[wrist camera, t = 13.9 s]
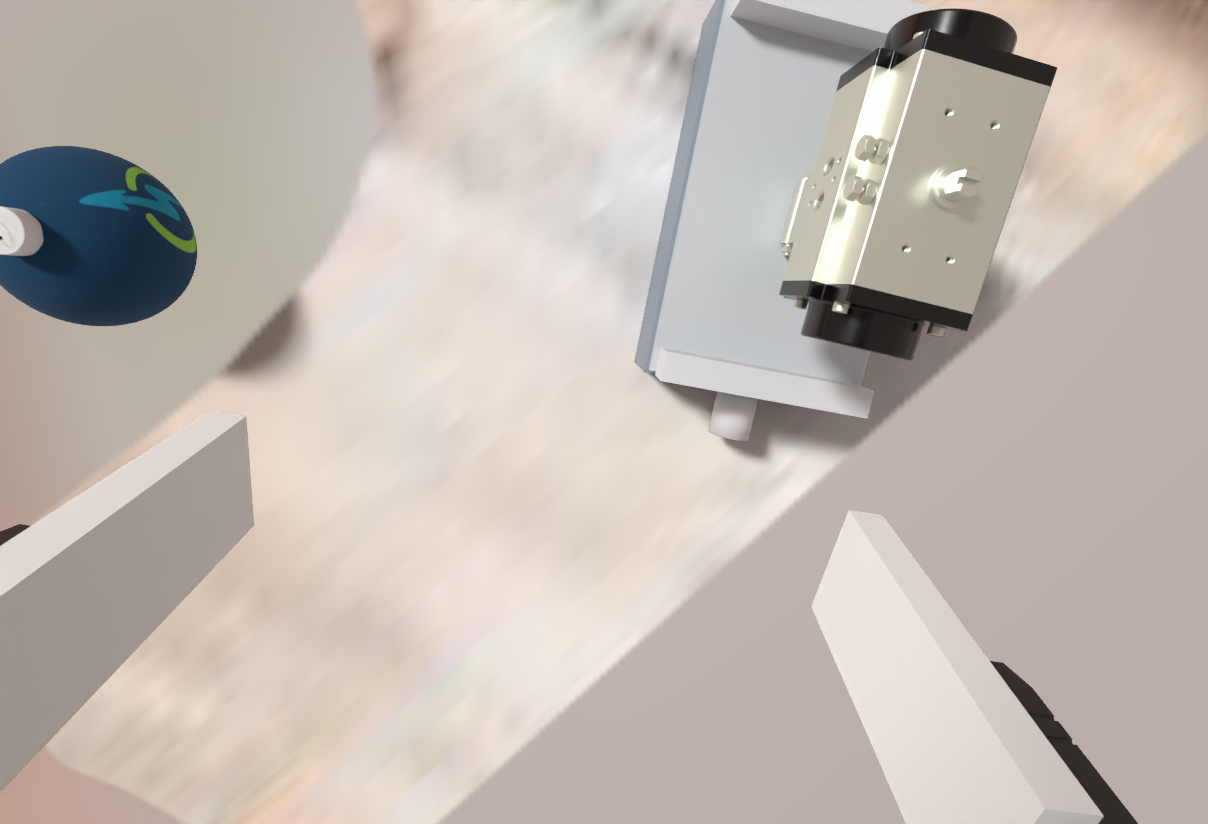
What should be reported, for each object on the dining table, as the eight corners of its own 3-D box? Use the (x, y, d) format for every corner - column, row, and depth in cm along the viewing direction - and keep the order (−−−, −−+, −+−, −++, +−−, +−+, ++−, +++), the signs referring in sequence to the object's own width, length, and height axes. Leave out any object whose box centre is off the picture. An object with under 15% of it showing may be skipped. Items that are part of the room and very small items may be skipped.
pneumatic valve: (894, 113, 30) (1105, 4, 19) (825, 342, 32) (975, 375, 21) (790, 83, 30) (940, -48, 18) (727, 319, 32) (824, 339, 20)
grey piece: (703, 23, 33) (739, -44, 27) (905, 73, 35) (989, 21, 28) (625, 409, 38) (639, 437, 31) (808, 441, 39) (860, 474, 32)
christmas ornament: (239, 319, 35) (114, 332, 25) (86, 322, 34) (-103, 337, 25) (216, 164, 33) (73, 114, 23) (55, 165, 33) (-161, 115, 23)
